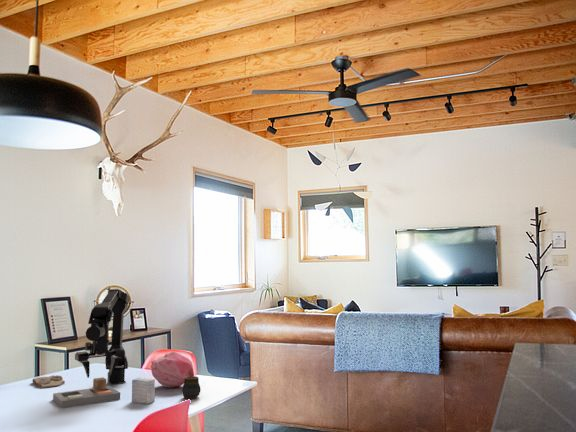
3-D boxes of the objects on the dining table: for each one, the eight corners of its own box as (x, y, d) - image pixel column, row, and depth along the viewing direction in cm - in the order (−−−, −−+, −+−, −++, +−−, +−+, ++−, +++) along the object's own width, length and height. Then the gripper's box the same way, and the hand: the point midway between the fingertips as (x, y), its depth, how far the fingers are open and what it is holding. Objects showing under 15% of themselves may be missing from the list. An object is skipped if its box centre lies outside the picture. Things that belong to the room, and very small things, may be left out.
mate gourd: (184, 401, 209) (185, 375, 210) (179, 396, 216) (179, 371, 217) (202, 398, 213) (202, 373, 214) (196, 394, 219) (196, 369, 220)
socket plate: (109, 391, 223) (109, 384, 223) (120, 399, 212) (120, 391, 212) (53, 399, 210) (53, 391, 210) (61, 408, 199) (61, 399, 199)
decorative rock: (194, 382, 241) (194, 348, 242) (193, 390, 227) (194, 354, 228) (151, 383, 237) (151, 349, 239) (148, 391, 223) (148, 355, 225)
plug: (102, 394, 219) (103, 377, 219) (105, 396, 215) (106, 379, 216) (92, 396, 216) (93, 378, 217) (95, 398, 213) (96, 380, 214)
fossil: (55, 380, 246) (56, 372, 247) (67, 386, 235) (67, 378, 235) (29, 383, 239) (30, 375, 239) (40, 390, 228) (41, 381, 228)
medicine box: (154, 401, 208) (155, 379, 209) (147, 404, 204) (147, 381, 205) (138, 399, 212) (139, 377, 212) (131, 402, 208) (131, 379, 208)
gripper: (117, 333, 229) (116, 370, 228) (72, 336, 219) (70, 375, 217) (126, 336, 221) (125, 374, 219) (79, 340, 210) (77, 380, 208)
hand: (99, 376), depth 216 cm, fingers open, 9 cm apart
